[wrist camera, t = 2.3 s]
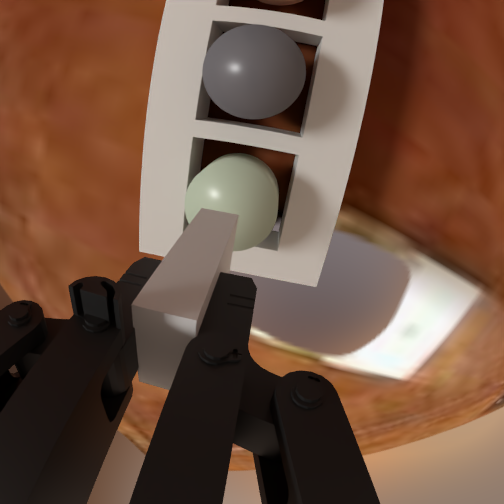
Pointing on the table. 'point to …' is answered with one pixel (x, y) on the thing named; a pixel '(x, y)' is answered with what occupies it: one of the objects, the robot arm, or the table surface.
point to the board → (258, 128)
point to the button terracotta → (280, 2)
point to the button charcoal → (254, 71)
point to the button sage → (237, 196)
